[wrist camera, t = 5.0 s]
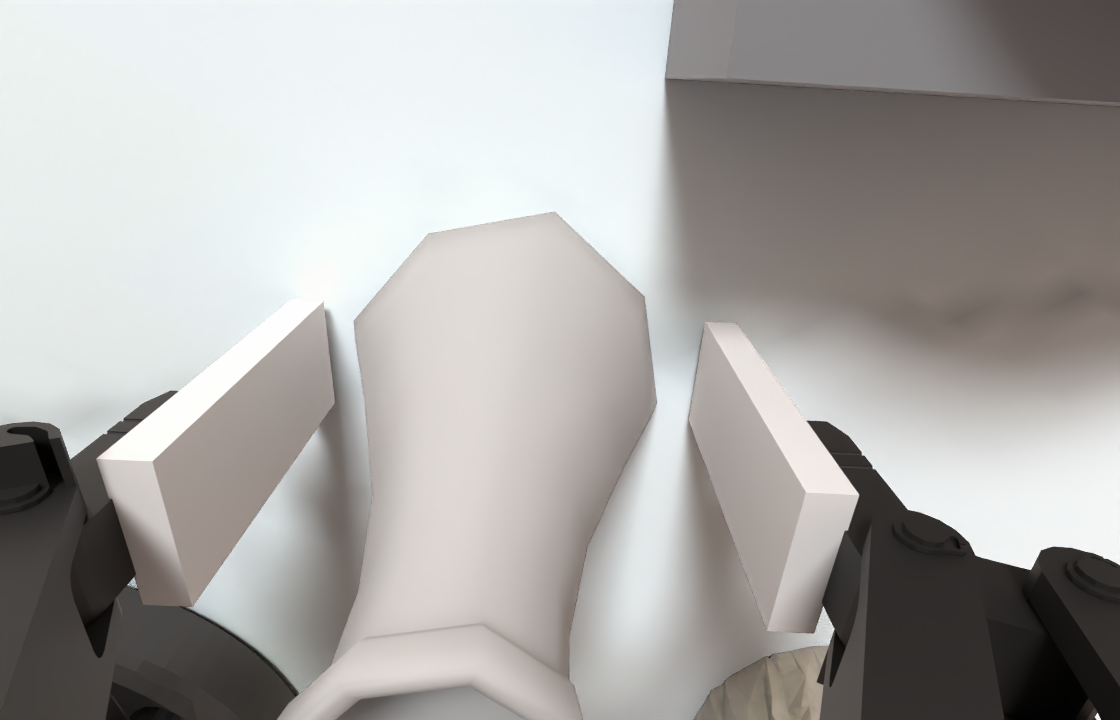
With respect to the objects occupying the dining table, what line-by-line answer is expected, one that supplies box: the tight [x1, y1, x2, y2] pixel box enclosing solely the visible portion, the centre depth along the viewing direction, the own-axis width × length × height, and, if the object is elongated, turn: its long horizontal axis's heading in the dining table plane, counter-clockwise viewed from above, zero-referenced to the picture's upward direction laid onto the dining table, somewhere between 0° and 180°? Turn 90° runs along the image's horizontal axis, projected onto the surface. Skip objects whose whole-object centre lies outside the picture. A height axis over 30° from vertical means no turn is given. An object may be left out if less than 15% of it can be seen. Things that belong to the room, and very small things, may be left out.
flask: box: [277, 212, 657, 720], centre depth 10 cm, size 7×7×10 cm
